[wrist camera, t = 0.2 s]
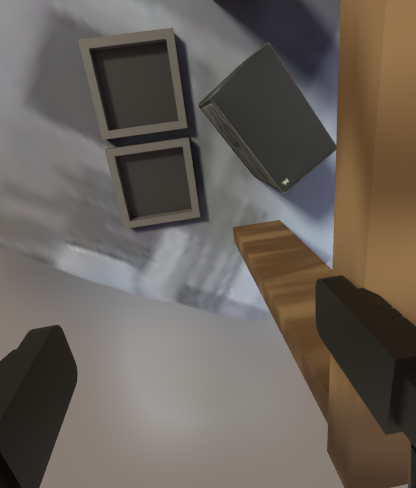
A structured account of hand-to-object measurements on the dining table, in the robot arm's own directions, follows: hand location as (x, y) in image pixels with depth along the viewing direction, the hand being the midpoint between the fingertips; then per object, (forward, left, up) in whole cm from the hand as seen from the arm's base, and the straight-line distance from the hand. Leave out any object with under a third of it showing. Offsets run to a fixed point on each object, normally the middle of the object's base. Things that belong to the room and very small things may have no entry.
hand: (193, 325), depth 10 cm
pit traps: (-4, -3, -29) cm, 29 cm away
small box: (-4, +9, -29) cm, 31 cm away
